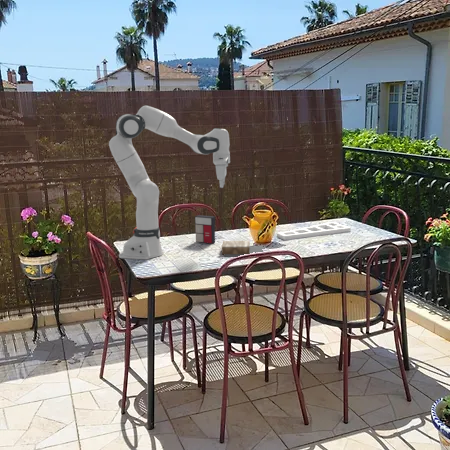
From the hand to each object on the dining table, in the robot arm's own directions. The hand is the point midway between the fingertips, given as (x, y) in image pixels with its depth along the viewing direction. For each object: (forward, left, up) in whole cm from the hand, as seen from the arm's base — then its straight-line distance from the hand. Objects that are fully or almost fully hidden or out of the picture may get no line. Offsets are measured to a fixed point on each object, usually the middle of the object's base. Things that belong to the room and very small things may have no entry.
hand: (222, 186), depth 249 cm
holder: (+50, +30, -34) cm, 68 cm away
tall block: (0, -10, -31) cm, 32 cm away
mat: (+12, -10, -33) cm, 37 cm away
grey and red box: (-11, +9, -33) cm, 36 cm away
